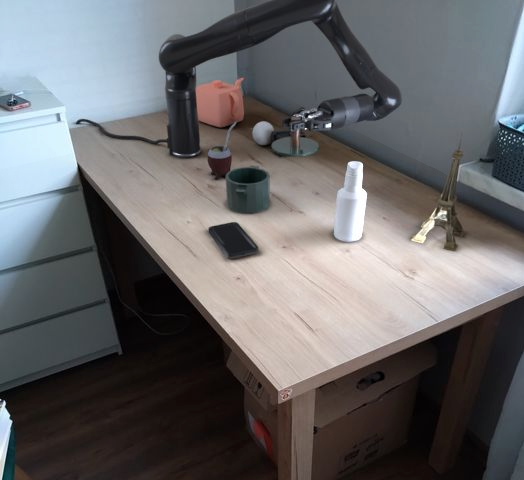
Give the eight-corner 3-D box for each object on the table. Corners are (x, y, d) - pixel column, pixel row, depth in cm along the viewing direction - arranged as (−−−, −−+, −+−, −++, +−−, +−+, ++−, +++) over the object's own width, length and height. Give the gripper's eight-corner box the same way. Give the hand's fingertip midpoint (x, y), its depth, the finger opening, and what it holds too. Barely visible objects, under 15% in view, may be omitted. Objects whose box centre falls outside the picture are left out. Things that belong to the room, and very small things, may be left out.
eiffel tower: (454, 251, 129) (482, 145, 113) (411, 240, 133) (431, 136, 117) (465, 232, 136) (492, 129, 120) (424, 222, 140) (444, 121, 124)
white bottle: (363, 231, 137) (373, 160, 125) (358, 244, 132) (367, 171, 120) (337, 227, 138) (343, 156, 127) (330, 239, 134) (336, 167, 122)
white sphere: (279, 145, 181) (279, 122, 177) (260, 150, 178) (260, 127, 173) (262, 136, 188) (262, 114, 183) (244, 141, 185) (243, 118, 180)
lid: (267, 156, 144) (267, 124, 138) (276, 139, 153) (276, 109, 148) (315, 160, 141) (316, 127, 136) (321, 142, 151) (323, 111, 145)
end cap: (297, 145, 182) (298, 124, 177) (307, 152, 177) (308, 131, 172) (269, 149, 179) (270, 128, 174) (278, 157, 174) (279, 135, 169)
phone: (236, 221, 138) (259, 248, 128) (236, 225, 139) (259, 252, 129) (206, 227, 136) (228, 255, 126) (207, 231, 137) (228, 260, 126)
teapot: (263, 119, 202) (263, 78, 193) (225, 132, 191) (223, 90, 182) (226, 107, 212) (224, 68, 203) (187, 119, 201) (184, 79, 192)
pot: (219, 216, 143) (218, 187, 138) (235, 189, 156) (234, 161, 150) (262, 220, 141) (262, 190, 136) (274, 192, 154) (275, 164, 149)
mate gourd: (204, 178, 162) (200, 126, 152) (217, 168, 167) (214, 117, 157) (226, 182, 159) (224, 130, 149) (239, 172, 165) (237, 121, 155)
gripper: (323, 91, 150) (271, 103, 143) (357, 104, 141) (302, 117, 134) (322, 120, 155) (271, 132, 148) (354, 134, 146) (301, 148, 139)
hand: (286, 125), depth 141 cm, fingers closed on lid, 2 cm apart
